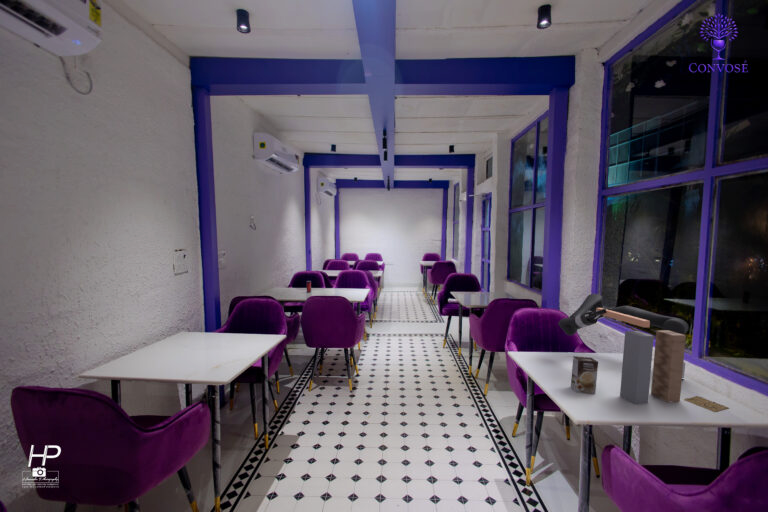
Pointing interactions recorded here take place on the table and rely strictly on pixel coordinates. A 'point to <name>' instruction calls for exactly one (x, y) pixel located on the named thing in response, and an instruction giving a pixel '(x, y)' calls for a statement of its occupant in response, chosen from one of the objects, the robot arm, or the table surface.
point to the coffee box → (584, 374)
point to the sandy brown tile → (706, 404)
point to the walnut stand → (668, 365)
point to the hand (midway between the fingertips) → (608, 310)
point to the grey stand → (636, 367)
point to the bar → (626, 318)
